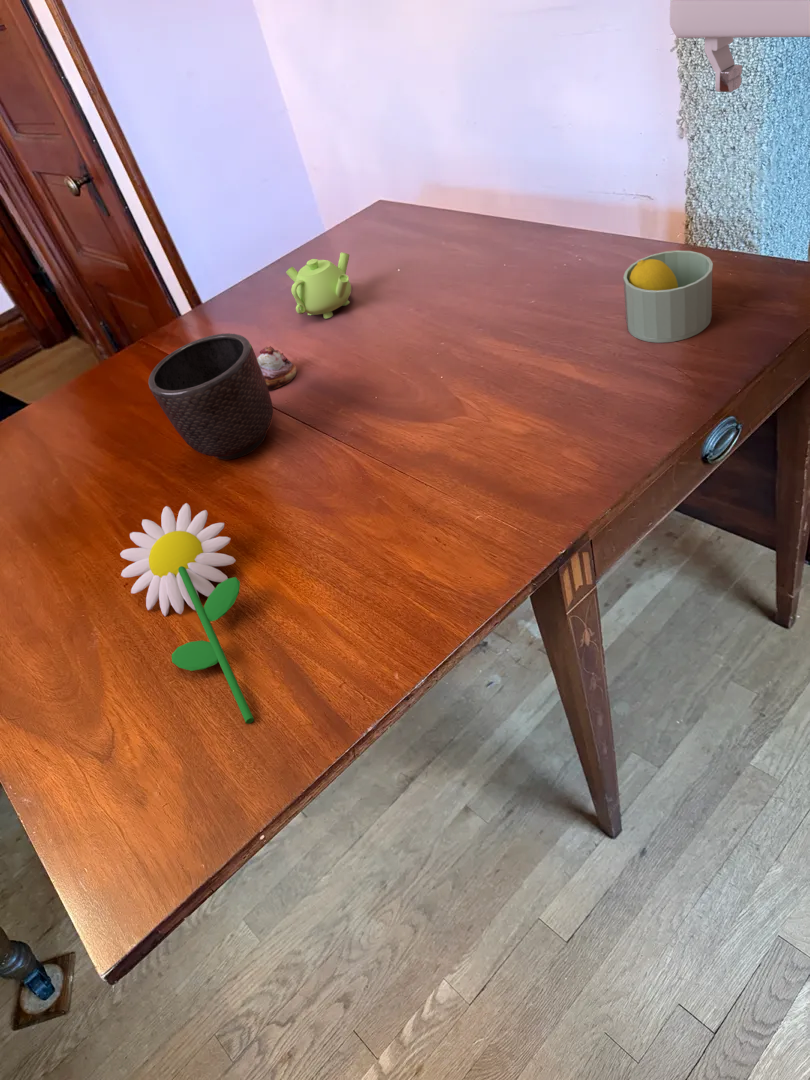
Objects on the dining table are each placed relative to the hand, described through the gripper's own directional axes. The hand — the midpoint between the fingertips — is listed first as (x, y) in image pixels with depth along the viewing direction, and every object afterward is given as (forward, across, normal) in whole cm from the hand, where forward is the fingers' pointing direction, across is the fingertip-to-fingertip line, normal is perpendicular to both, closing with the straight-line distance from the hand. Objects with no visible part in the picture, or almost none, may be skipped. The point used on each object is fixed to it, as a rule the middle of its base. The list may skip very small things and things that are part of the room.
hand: (773, 92), depth 66 cm
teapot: (+29, -68, -19) cm, 76 cm away
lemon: (+28, -16, +4) cm, 33 cm away
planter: (+29, -45, -48) cm, 72 cm away
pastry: (+29, -56, -37) cm, 73 cm away
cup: (+29, -16, +4) cm, 33 cm away
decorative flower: (+29, -16, -65) cm, 73 cm away
